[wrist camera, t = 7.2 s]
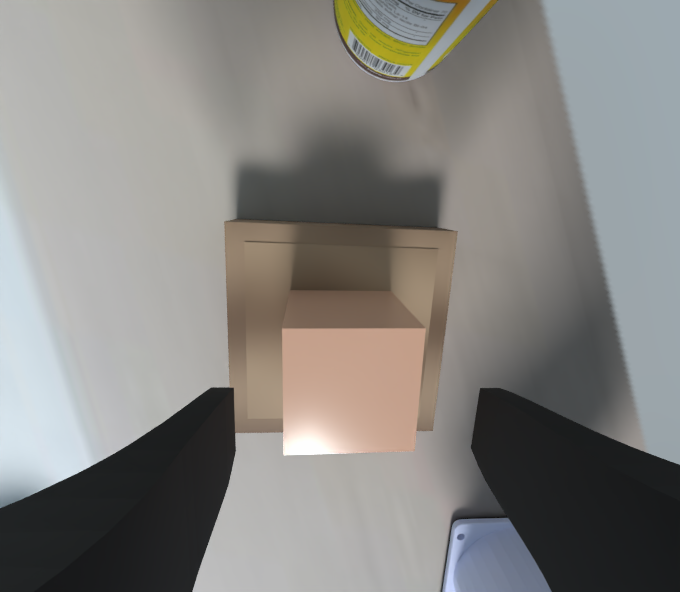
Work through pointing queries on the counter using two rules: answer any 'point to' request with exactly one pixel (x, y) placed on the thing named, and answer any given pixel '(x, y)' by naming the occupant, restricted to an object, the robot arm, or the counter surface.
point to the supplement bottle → (404, 33)
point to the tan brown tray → (332, 275)
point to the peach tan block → (350, 373)
